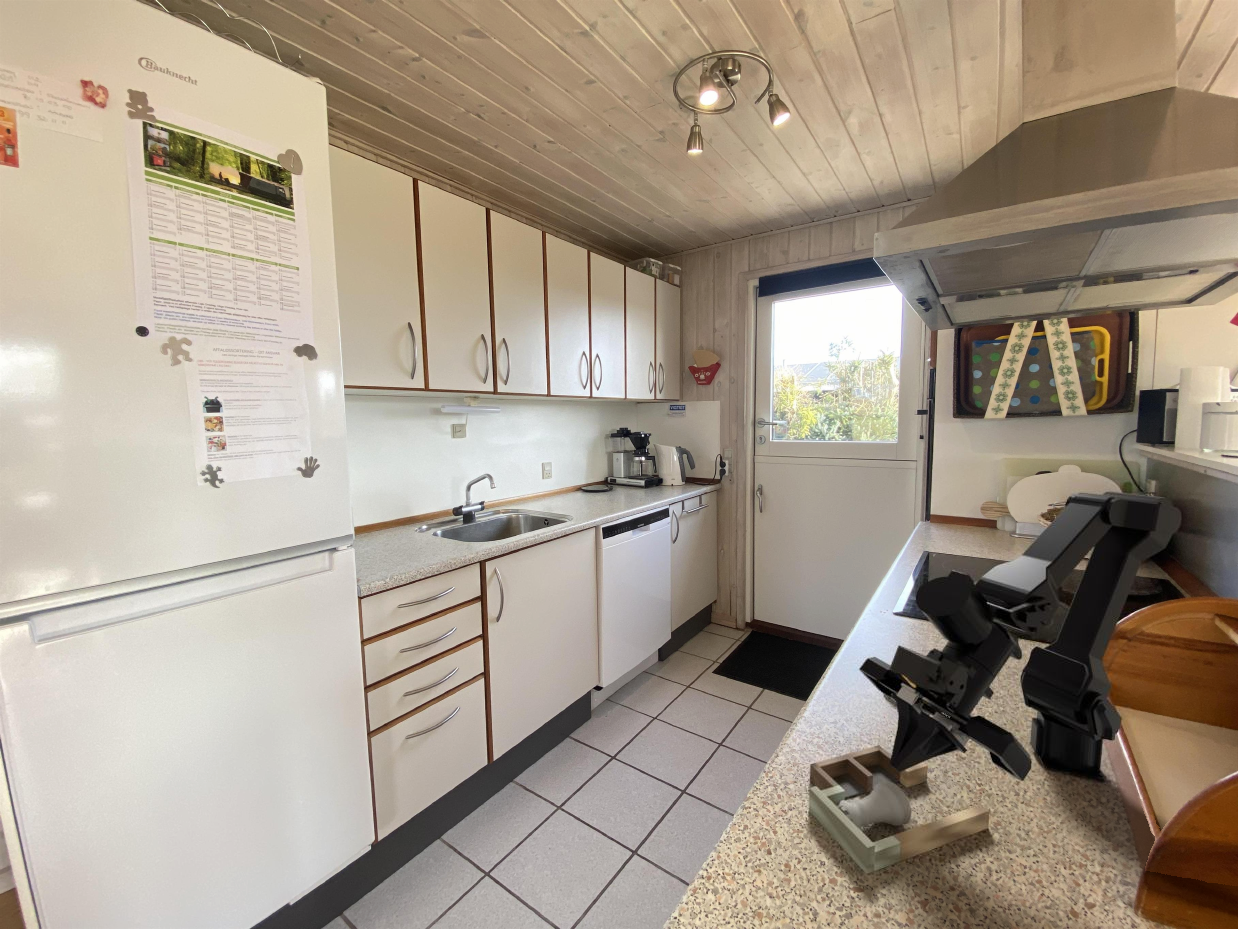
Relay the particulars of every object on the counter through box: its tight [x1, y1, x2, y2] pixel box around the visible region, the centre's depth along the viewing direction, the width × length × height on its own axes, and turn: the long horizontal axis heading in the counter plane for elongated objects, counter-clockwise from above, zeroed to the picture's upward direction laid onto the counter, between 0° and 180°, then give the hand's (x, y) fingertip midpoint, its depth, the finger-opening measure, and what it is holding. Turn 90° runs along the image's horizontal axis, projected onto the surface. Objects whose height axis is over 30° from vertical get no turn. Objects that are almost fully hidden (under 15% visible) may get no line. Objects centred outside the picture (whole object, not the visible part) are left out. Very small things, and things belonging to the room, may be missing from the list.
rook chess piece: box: [837, 781, 912, 830], centre depth 59 cm, size 4×4×8 cm
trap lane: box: [808, 744, 990, 875], centre depth 62 cm, size 18×13×3 cm
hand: (894, 768), depth 59 cm, fingers closed
